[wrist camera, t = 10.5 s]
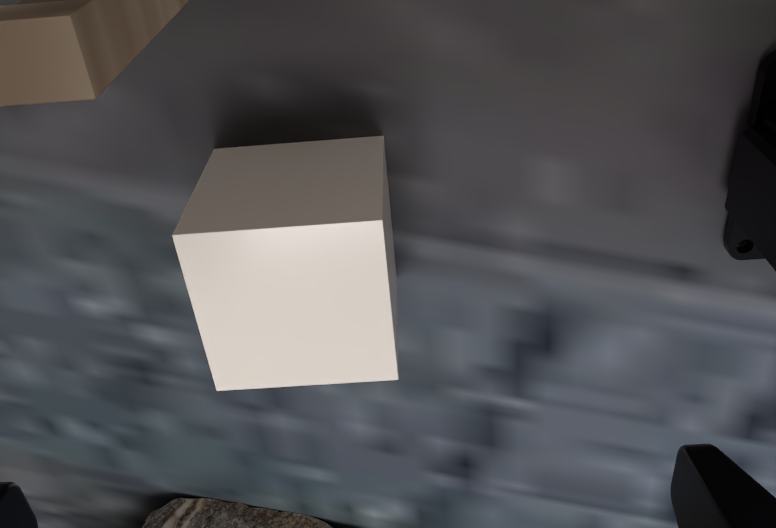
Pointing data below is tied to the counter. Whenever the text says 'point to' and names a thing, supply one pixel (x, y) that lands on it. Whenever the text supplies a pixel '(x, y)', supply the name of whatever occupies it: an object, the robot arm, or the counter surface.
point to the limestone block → (293, 264)
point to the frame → (73, 45)
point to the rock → (225, 516)
